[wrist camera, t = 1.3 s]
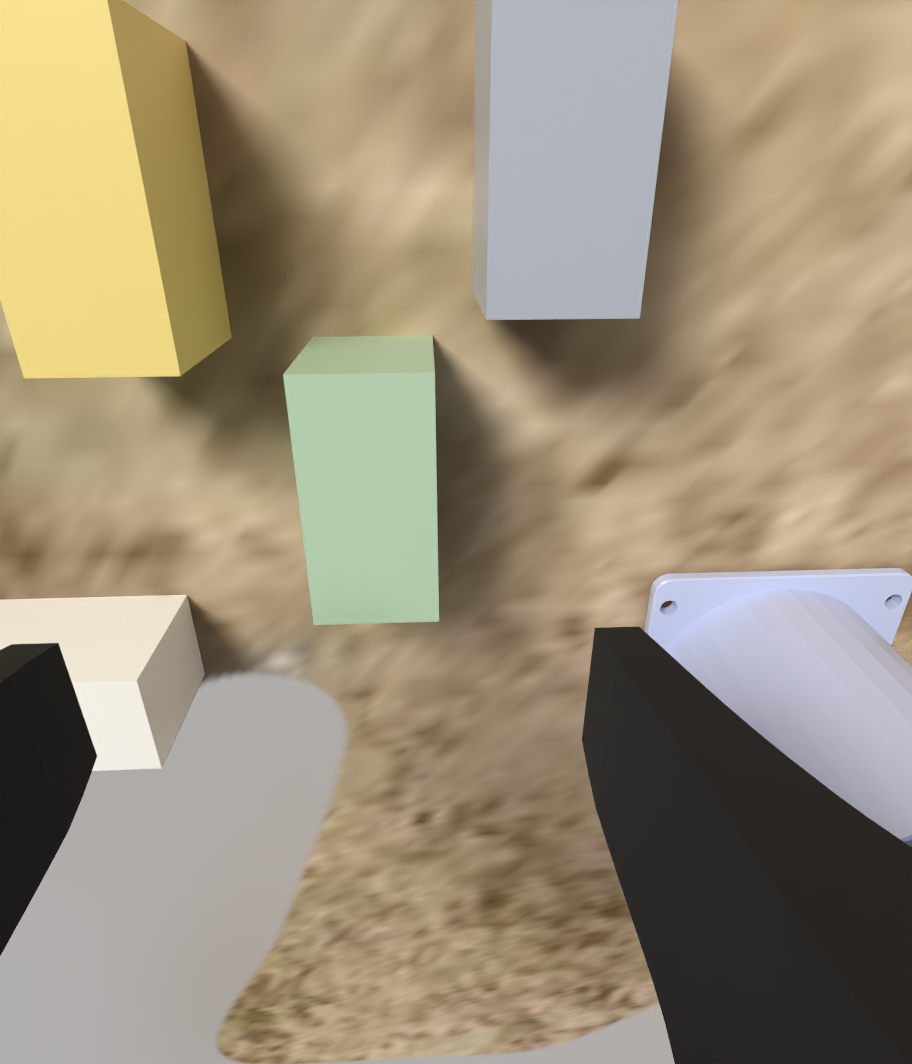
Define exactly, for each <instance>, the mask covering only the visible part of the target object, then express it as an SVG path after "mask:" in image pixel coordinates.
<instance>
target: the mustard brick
mask: <svg viewBox="0 0 912 1064" xmlns="http://www.w3.org/2000/svg"><path fill="white" fill-rule="evenodd" d="M0 300H1V303H2V307H3V310H4V313H5V317H6V320H7V323H8V326H9V330H10V333H11V336H12V340H13V343H14V346H15V349H16V353H17V356H18V359H19V363H20V366H21V369H22V372H23V376H24V378H85V377H162V376H182V375H183V374H184V373H186V372H187V371H188V370H190V369H191V368H192V367H194V366H195V365H196V364H198V363H199V362H200V361H202V360H203V359H204V358H205V357H207V356H208V355H209V354H211V353H212V352H213V351H215V350H216V349H217V348H219V347H220V346H221V345H223V344H224V343H225V342H227V341H228V340H229V339H231V338H232V336H231V330H230V323H229V317H228V310H227V304H226V297H225V291H224V284H223V278H222V271H221V265H220V258H219V252H218V246H217V239H216V233H215V226H214V220H213V213H212V207H211V200H210V194H209V187H208V181H207V174H206V168H205V161H204V155H203V148H202V142H201V136H200V129H199V123H198V116H197V110H196V103H195V97H194V90H193V84H192V77H191V71H190V64H189V58H188V51H187V45H186V41H185V40H183V39H182V38H180V37H178V36H177V35H175V34H174V33H172V32H171V31H169V30H168V29H166V28H164V27H163V26H161V25H160V24H158V23H157V22H155V21H154V20H152V19H150V18H149V17H147V16H146V15H144V14H143V13H141V12H139V11H138V10H136V9H135V8H133V7H132V6H130V5H129V4H127V3H125V2H124V1H122V0H0Z"/></svg>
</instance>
